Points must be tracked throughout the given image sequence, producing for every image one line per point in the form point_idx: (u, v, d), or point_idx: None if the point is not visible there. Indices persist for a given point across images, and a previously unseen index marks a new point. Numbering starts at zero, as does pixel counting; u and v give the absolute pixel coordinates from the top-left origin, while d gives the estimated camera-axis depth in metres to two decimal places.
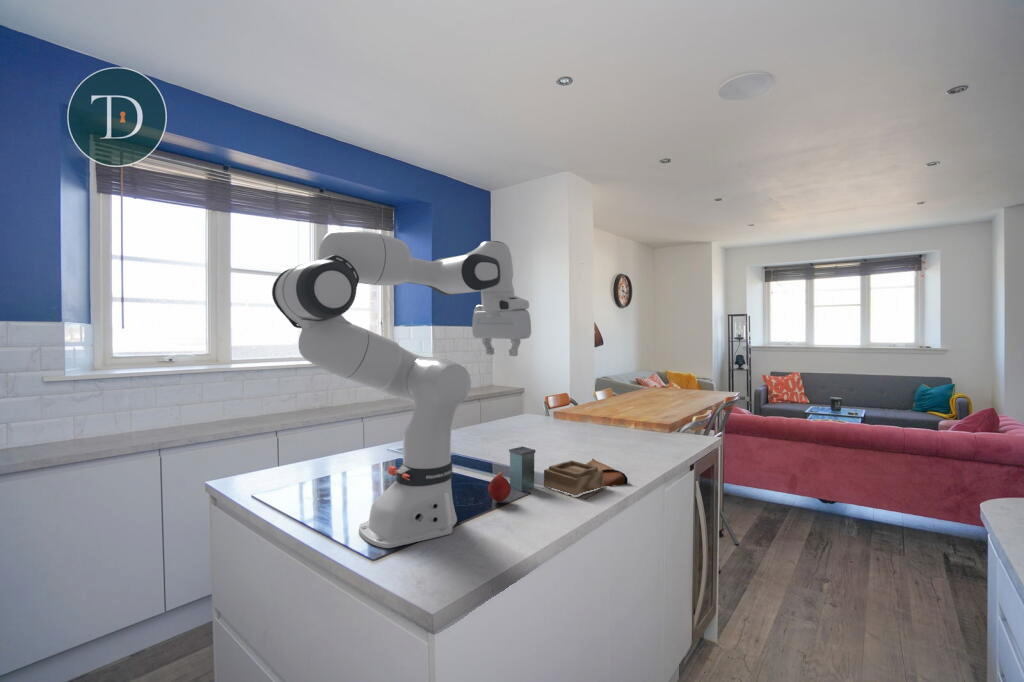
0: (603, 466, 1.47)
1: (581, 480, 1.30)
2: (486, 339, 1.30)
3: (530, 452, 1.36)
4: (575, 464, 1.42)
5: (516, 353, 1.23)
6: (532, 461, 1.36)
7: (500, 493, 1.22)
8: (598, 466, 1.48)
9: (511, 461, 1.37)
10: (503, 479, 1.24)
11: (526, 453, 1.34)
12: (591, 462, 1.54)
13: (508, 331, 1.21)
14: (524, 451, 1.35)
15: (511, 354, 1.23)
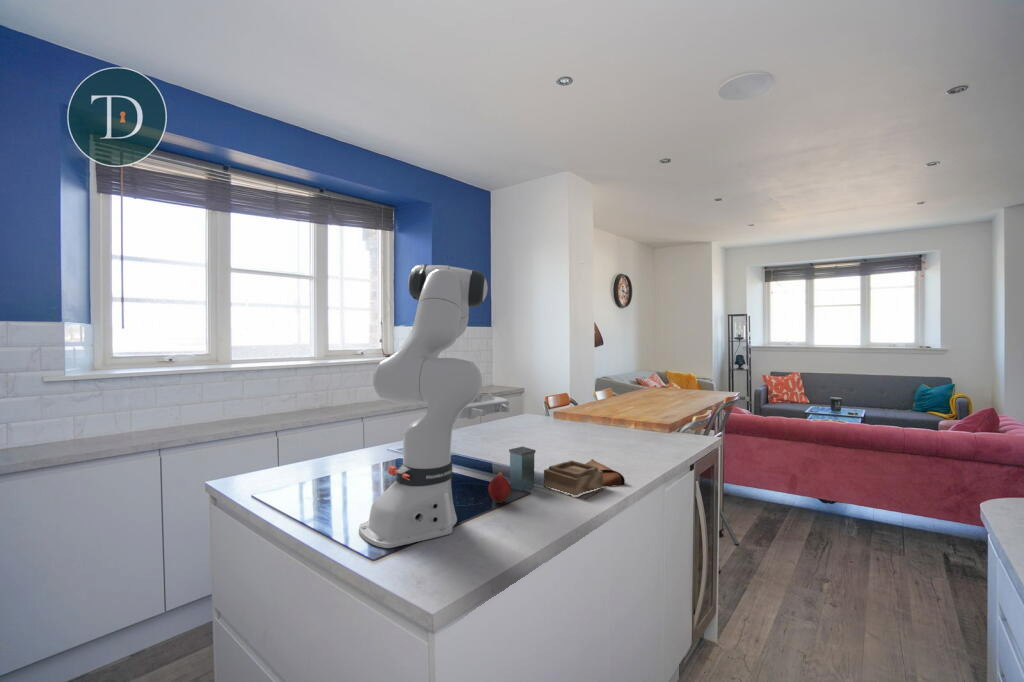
0: (601, 466, 1.47)
1: (581, 480, 1.30)
2: None
3: (530, 452, 1.36)
4: (575, 464, 1.42)
5: None
6: (532, 461, 1.36)
7: (500, 493, 1.22)
8: (596, 466, 1.48)
9: (511, 461, 1.37)
10: (503, 479, 1.24)
11: (526, 453, 1.34)
12: (590, 462, 1.54)
13: (495, 400, 1.54)
14: (524, 451, 1.35)
15: (506, 406, 1.49)
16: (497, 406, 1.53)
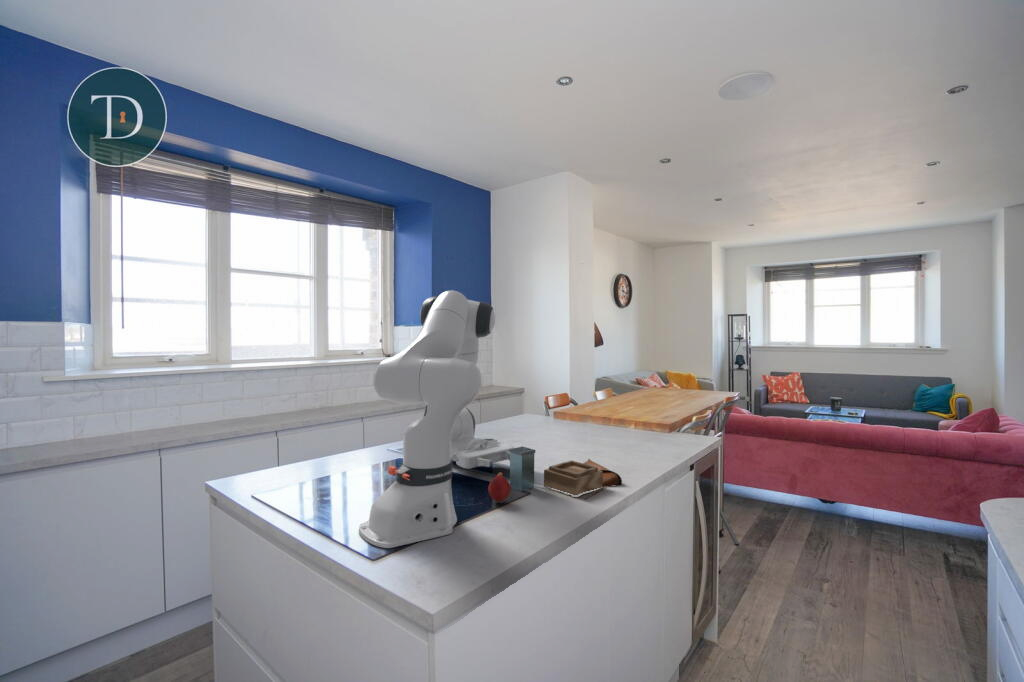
0: (598, 467, 1.47)
1: (581, 480, 1.30)
2: None
3: (530, 452, 1.36)
4: (575, 464, 1.42)
5: None
6: (532, 461, 1.36)
7: (500, 493, 1.22)
8: (593, 466, 1.47)
9: (511, 461, 1.37)
10: (503, 479, 1.24)
11: (526, 453, 1.34)
12: (587, 462, 1.53)
13: (501, 448, 1.52)
14: (524, 451, 1.35)
15: None
16: (503, 454, 1.50)
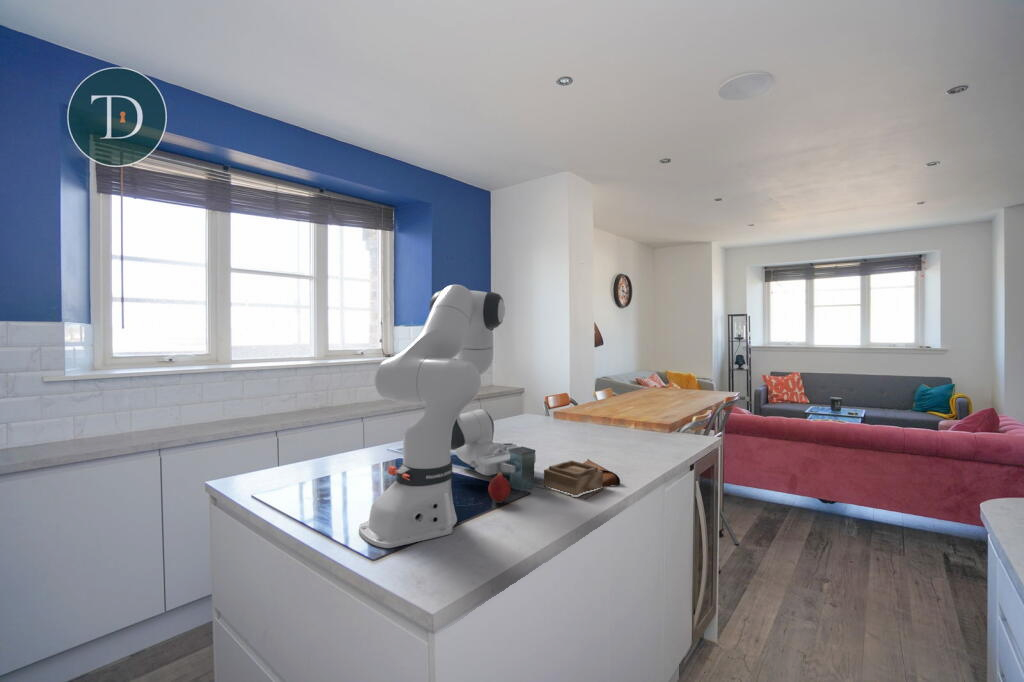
0: (597, 467, 1.46)
1: (581, 480, 1.30)
2: None
3: (530, 452, 1.36)
4: (575, 464, 1.42)
5: None
6: (532, 461, 1.36)
7: (500, 493, 1.22)
8: None
9: (511, 461, 1.37)
10: (503, 479, 1.24)
11: (526, 453, 1.34)
12: (586, 462, 1.53)
13: None
14: (524, 451, 1.35)
15: None
16: None
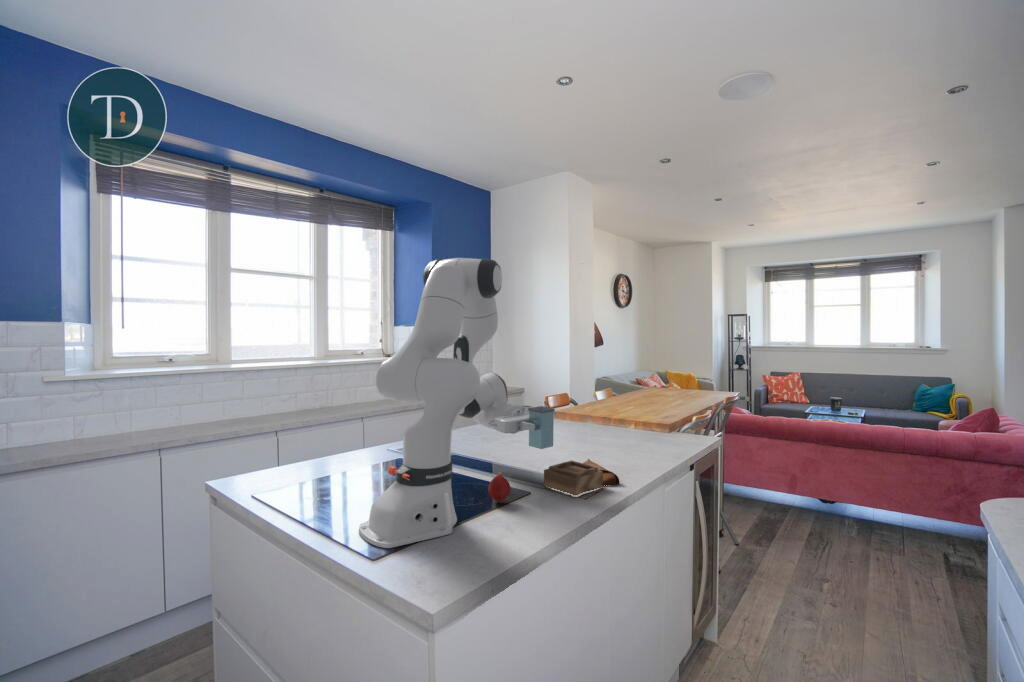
0: (596, 466, 1.47)
1: (581, 480, 1.30)
2: None
3: (549, 410, 1.36)
4: (575, 464, 1.42)
5: None
6: (551, 419, 1.36)
7: (500, 493, 1.22)
8: None
9: (530, 419, 1.37)
10: (503, 479, 1.24)
11: (546, 411, 1.34)
12: (586, 462, 1.54)
13: None
14: (544, 409, 1.35)
15: None
16: None
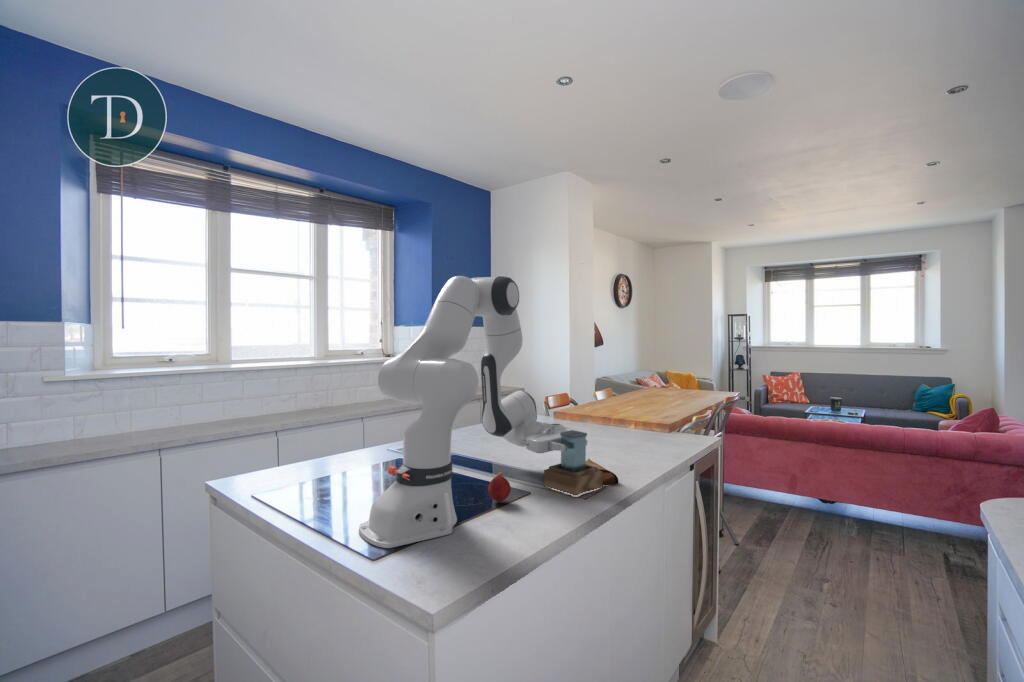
0: (596, 466, 1.47)
1: (581, 480, 1.30)
2: None
3: (582, 435, 1.35)
4: None
5: None
6: (584, 444, 1.36)
7: (500, 493, 1.22)
8: None
9: None
10: (503, 479, 1.24)
11: (578, 436, 1.34)
12: (586, 462, 1.54)
13: None
14: (576, 434, 1.35)
15: None
16: None
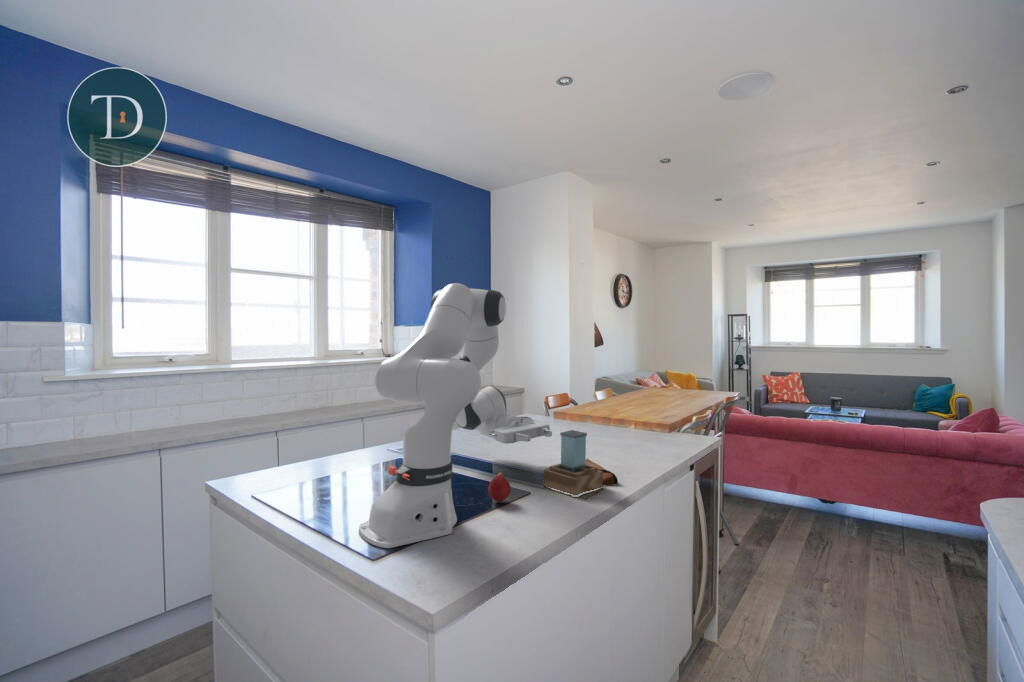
0: (595, 466, 1.47)
1: (581, 480, 1.30)
2: None
3: (582, 435, 1.35)
4: None
5: None
6: (584, 444, 1.36)
7: (500, 493, 1.22)
8: None
9: (562, 444, 1.37)
10: (503, 479, 1.24)
11: (578, 436, 1.34)
12: (585, 462, 1.54)
13: (537, 425, 1.56)
14: (576, 434, 1.35)
15: (549, 431, 1.51)
16: (539, 430, 1.54)
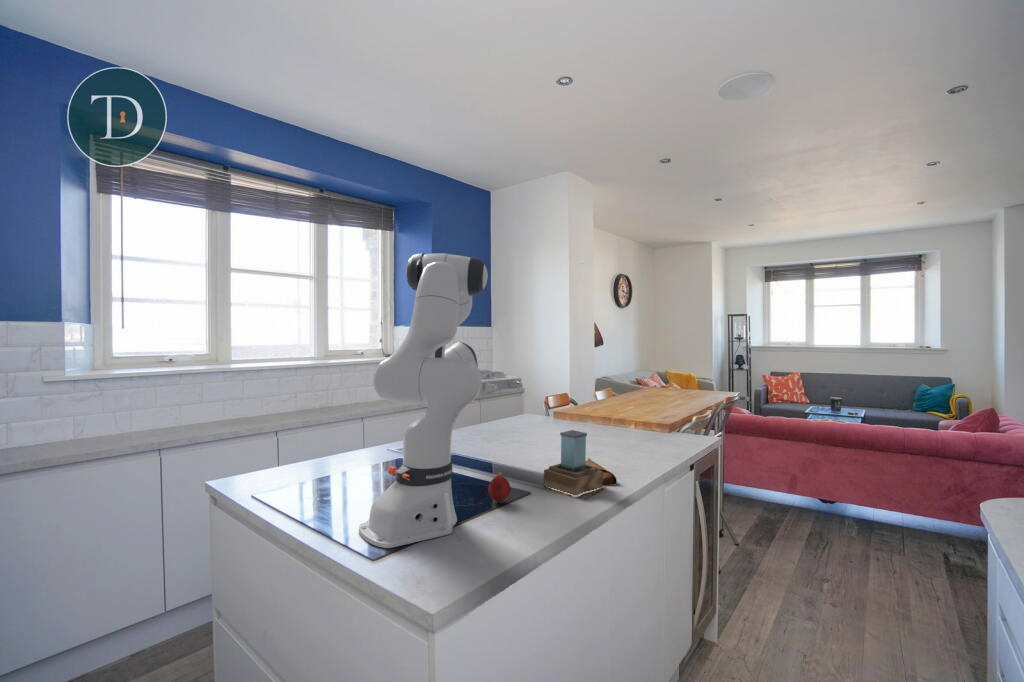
0: (595, 466, 1.47)
1: (581, 480, 1.30)
2: None
3: (582, 435, 1.35)
4: None
5: None
6: (584, 444, 1.36)
7: (500, 493, 1.22)
8: None
9: (562, 444, 1.37)
10: (503, 479, 1.24)
11: (578, 436, 1.34)
12: (586, 461, 1.54)
13: None
14: (576, 434, 1.35)
15: (520, 382, 1.50)
16: (510, 383, 1.54)
